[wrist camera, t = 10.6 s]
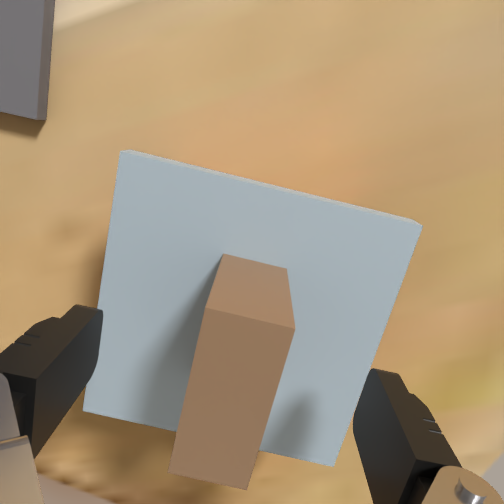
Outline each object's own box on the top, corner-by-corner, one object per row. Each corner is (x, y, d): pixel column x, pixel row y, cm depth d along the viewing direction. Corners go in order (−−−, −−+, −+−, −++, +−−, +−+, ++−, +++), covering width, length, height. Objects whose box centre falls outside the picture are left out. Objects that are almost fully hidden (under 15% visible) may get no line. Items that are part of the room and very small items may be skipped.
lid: (92, 394, 17) (16, 511, 12) (130, 149, 14) (51, 162, 9) (329, 448, 17) (356, 584, 12) (412, 219, 14) (493, 270, 9)
